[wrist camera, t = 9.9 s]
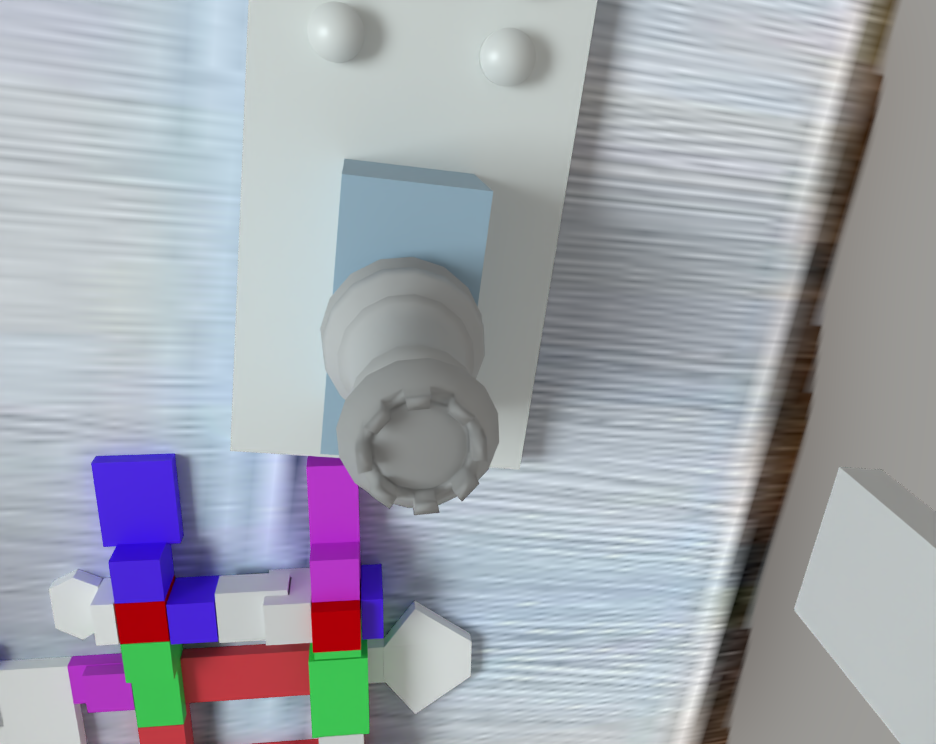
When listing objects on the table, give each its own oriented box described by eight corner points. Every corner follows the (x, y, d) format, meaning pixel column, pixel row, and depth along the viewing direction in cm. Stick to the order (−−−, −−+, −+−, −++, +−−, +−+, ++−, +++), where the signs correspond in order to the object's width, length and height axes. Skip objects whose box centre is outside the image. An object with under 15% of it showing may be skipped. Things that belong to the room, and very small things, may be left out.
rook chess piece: (492, 262, 23) (557, 356, 15) (469, 412, 24) (518, 565, 17) (328, 242, 22) (312, 331, 15) (313, 398, 24) (292, 551, 16)
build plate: (259, -152, 23) (252, -168, 22) (603, -91, 25) (619, -101, 23) (234, 438, 29) (227, 458, 27) (514, 457, 31) (522, 477, 29)
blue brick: (344, 158, 25) (342, 174, 22) (474, 173, 26) (493, 191, 22) (325, 402, 28) (320, 454, 24) (443, 410, 28) (456, 462, 25)
